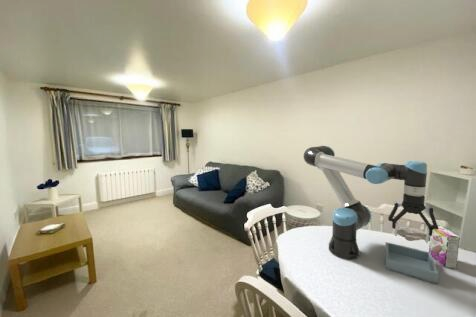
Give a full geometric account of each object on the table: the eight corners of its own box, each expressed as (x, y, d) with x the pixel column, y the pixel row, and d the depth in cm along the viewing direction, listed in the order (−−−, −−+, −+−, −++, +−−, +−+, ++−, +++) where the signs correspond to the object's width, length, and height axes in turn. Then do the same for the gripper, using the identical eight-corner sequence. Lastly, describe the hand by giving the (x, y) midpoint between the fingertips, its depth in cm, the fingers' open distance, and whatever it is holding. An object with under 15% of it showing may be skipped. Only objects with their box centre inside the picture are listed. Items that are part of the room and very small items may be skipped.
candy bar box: (427, 253, 106) (430, 225, 104) (438, 254, 105) (441, 225, 103) (444, 267, 95) (448, 235, 93) (457, 268, 94) (460, 236, 92)
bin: (385, 268, 96) (386, 259, 95) (385, 250, 110) (385, 242, 110) (437, 284, 85) (438, 273, 85) (429, 261, 100) (430, 252, 99)
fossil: (419, 240, 89) (397, 224, 97) (412, 249, 92) (391, 232, 100) (430, 234, 92) (408, 219, 100) (423, 243, 95) (402, 228, 103)
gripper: (383, 192, 97) (381, 234, 100) (451, 200, 83) (446, 249, 86) (383, 188, 103) (381, 228, 106) (446, 195, 89) (442, 241, 92)
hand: (410, 238), depth 96 cm, fingers closed on fossil, 11 cm apart
